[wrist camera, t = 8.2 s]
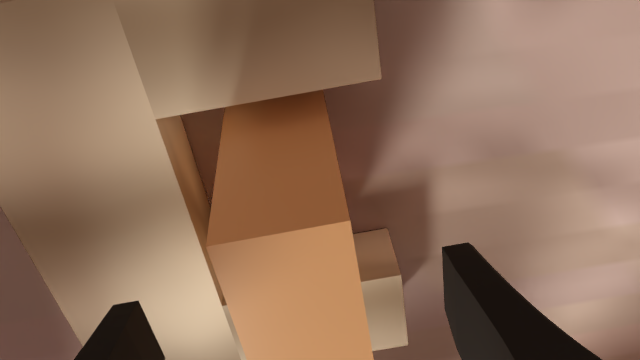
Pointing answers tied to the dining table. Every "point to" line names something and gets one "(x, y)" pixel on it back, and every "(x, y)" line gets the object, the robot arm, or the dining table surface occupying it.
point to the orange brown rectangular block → (286, 234)
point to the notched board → (159, 148)
